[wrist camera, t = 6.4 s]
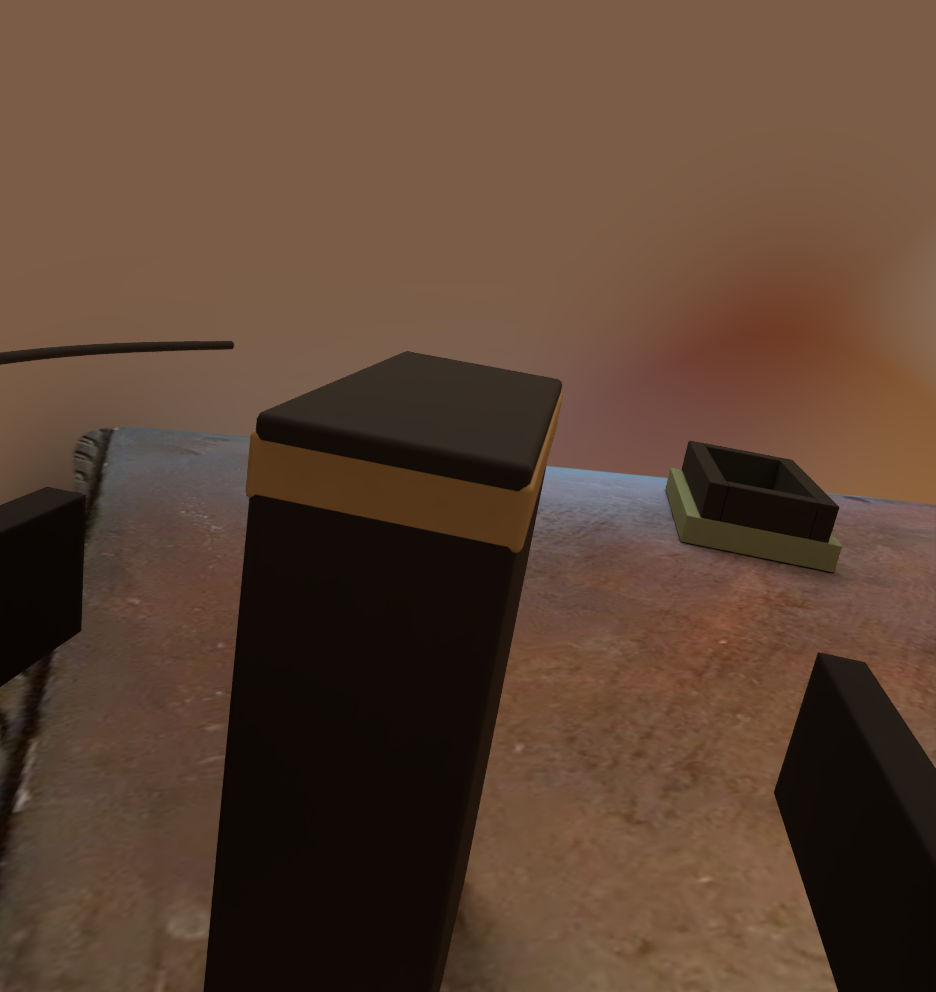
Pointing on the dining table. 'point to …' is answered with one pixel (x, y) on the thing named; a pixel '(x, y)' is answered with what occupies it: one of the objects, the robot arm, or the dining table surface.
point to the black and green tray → (753, 507)
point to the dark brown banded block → (370, 669)
